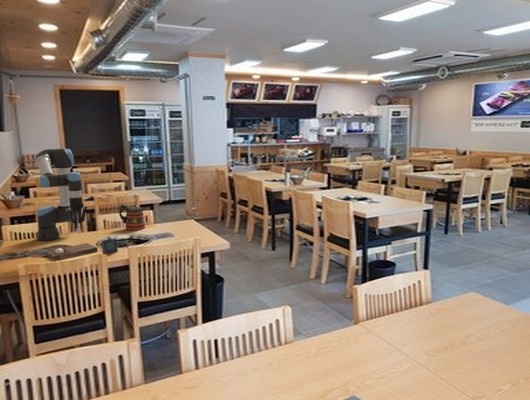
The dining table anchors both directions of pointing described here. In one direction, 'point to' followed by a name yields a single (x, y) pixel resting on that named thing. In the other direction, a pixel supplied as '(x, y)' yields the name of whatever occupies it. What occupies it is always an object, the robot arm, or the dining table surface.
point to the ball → (59, 250)
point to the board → (72, 251)
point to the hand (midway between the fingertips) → (78, 232)
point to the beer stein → (133, 217)
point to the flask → (109, 245)
